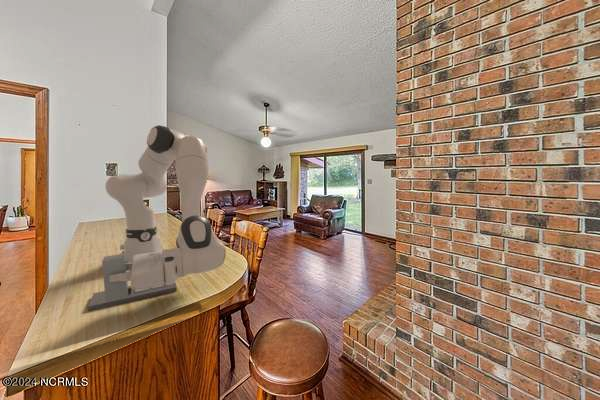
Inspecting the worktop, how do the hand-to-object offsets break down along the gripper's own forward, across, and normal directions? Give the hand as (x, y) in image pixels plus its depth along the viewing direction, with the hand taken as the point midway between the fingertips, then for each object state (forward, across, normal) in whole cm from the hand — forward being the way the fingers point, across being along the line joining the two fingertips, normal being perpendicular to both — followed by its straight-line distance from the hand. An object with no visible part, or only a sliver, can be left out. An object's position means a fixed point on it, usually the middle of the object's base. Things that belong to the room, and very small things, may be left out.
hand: (111, 274), depth 64 cm
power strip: (-5, -10, +12) cm, 16 cm away
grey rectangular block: (-1, 0, +6) cm, 7 cm away
